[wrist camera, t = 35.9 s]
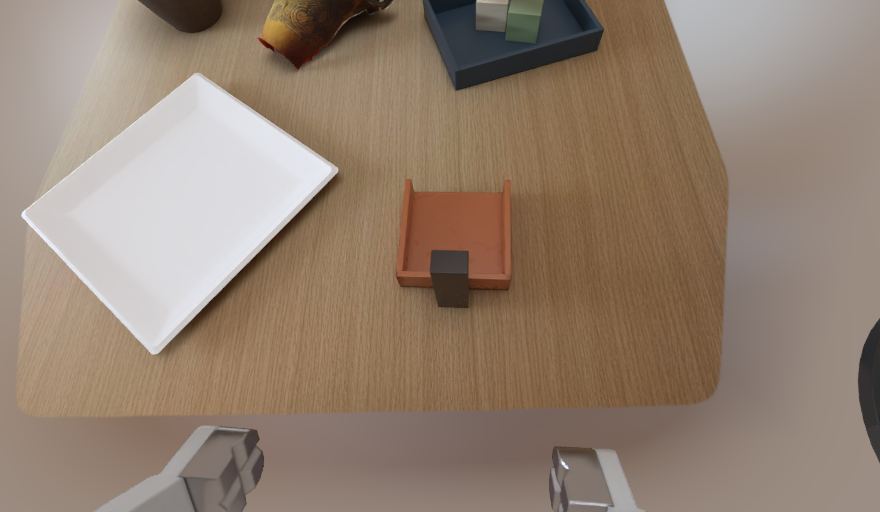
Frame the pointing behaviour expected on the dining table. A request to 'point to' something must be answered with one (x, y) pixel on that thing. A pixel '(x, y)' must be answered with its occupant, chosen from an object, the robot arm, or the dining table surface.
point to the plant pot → (186, 13)
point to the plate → (177, 206)
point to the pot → (310, 24)
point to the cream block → (492, 15)
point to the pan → (455, 243)
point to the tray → (491, 56)
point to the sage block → (524, 20)
